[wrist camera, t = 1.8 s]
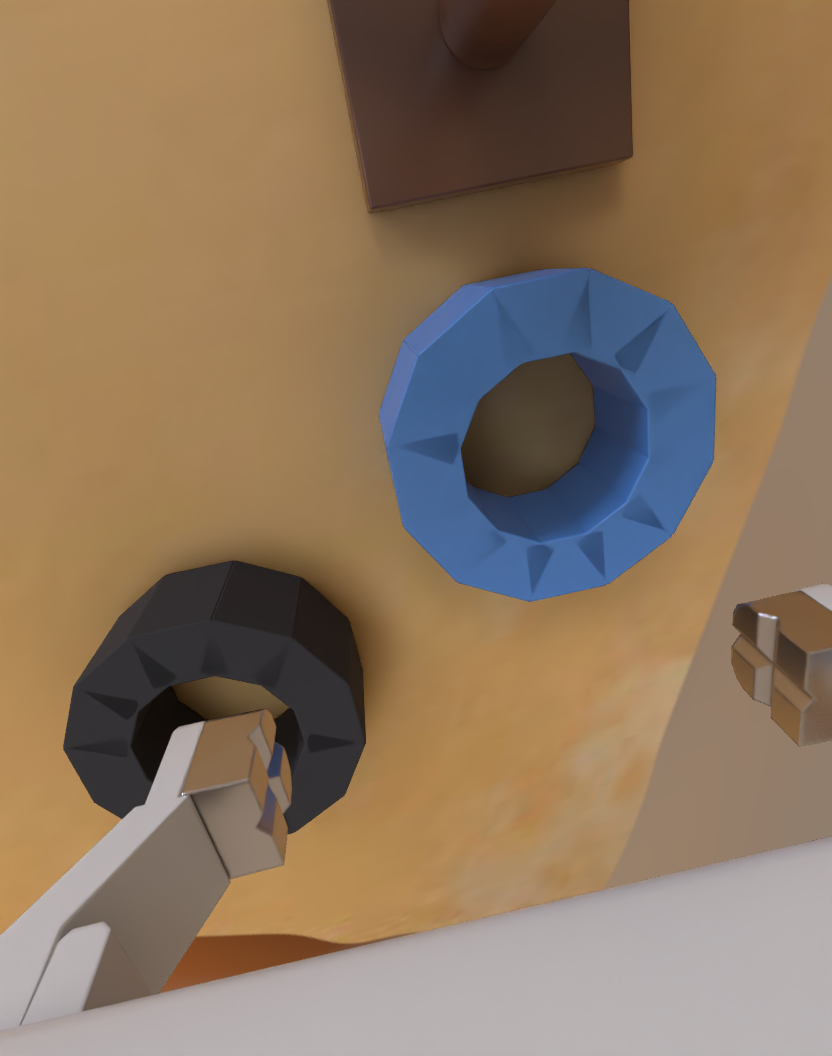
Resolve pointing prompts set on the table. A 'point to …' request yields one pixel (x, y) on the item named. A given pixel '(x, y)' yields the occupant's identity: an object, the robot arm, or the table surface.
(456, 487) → the blue tape
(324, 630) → the ring
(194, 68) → the table surface
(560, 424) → the table surface
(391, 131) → the wooden stand
